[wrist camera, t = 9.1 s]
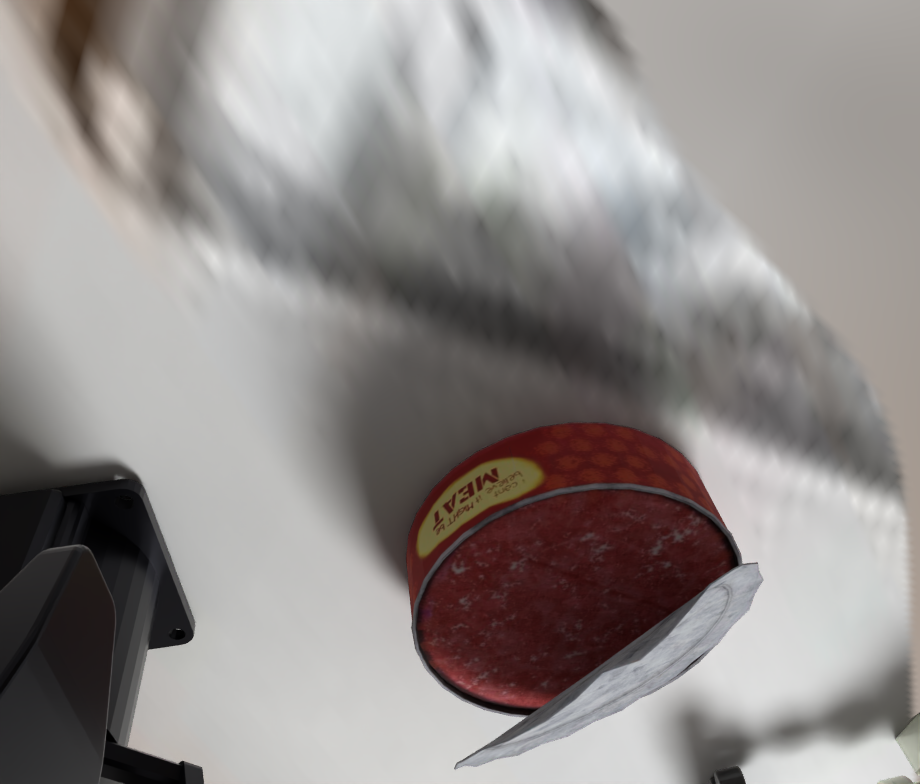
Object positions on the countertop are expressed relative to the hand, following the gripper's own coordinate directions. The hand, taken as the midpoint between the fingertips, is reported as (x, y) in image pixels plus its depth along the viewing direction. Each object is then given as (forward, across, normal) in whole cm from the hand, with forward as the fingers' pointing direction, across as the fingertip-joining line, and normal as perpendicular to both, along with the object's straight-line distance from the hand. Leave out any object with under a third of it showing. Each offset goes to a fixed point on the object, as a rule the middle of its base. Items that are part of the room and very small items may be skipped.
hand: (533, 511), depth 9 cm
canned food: (+13, -3, +14) cm, 20 cm away
